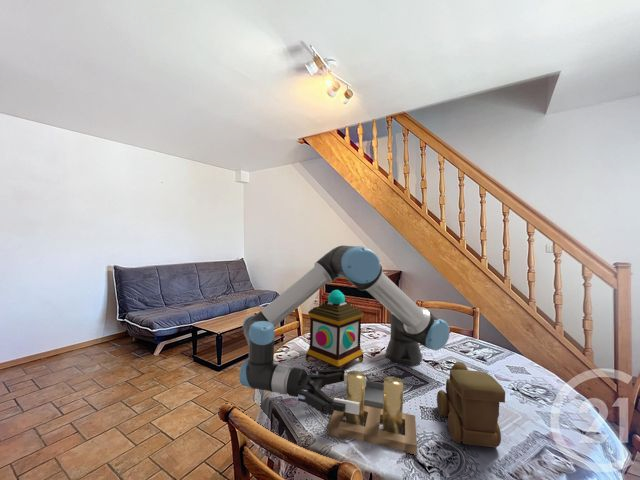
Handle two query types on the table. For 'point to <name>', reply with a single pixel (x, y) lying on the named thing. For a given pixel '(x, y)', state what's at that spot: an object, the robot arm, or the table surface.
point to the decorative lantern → (335, 332)
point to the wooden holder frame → (375, 430)
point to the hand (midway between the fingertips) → (362, 394)
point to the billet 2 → (392, 405)
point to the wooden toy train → (472, 406)
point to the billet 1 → (355, 396)
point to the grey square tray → (374, 394)
